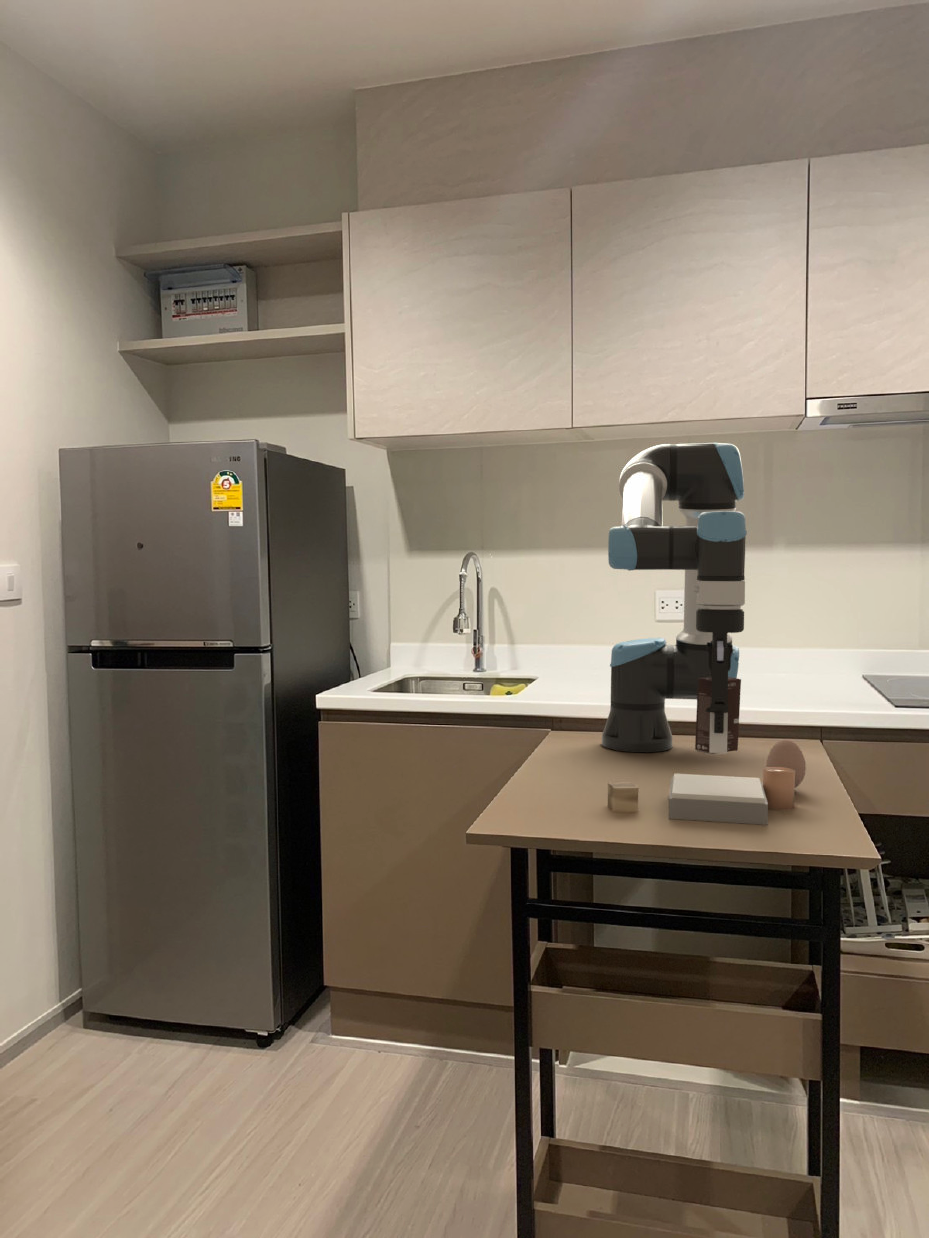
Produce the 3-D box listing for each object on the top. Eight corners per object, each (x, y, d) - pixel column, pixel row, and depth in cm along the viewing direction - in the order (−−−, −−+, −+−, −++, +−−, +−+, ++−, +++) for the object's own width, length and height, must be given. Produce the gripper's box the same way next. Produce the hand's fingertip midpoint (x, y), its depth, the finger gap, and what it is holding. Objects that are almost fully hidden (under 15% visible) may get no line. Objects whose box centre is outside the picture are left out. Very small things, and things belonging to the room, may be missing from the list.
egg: (764, 793, 169) (765, 741, 168) (767, 784, 175) (768, 734, 174) (804, 796, 166) (805, 744, 166) (805, 787, 172) (807, 737, 172)
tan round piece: (761, 800, 163) (762, 766, 163) (792, 802, 162) (793, 767, 162) (763, 808, 159) (764, 772, 158) (795, 810, 157) (796, 774, 157)
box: (715, 755, 154) (716, 680, 153) (694, 750, 157) (695, 677, 157) (741, 751, 157) (742, 677, 156) (719, 747, 161) (720, 675, 160)
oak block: (607, 806, 160) (607, 782, 160) (631, 805, 161) (631, 781, 160) (613, 812, 156) (614, 788, 156) (638, 811, 157) (638, 787, 156)
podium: (671, 795, 167) (671, 772, 167) (761, 800, 163) (762, 777, 163) (668, 818, 152) (668, 793, 152) (767, 824, 149) (768, 799, 149)
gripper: (696, 604, 166) (694, 736, 168) (696, 610, 147) (693, 759, 148) (741, 604, 164) (739, 738, 166) (747, 610, 145) (744, 761, 147)
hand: (717, 747), depth 157 cm, fingers closed on box, 7 cm apart
